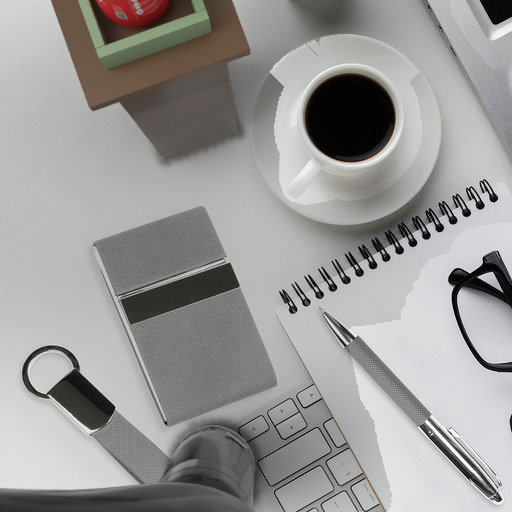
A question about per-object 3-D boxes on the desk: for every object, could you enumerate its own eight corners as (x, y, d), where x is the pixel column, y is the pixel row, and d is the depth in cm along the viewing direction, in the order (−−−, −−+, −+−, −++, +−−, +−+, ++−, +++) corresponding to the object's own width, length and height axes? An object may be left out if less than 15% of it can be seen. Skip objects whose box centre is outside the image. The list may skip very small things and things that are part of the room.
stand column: (238, 132, 77) (224, 42, 48) (164, 159, 77) (105, 85, 48) (211, 60, 78) (181, -74, 49) (138, 86, 78) (63, -31, 49)
